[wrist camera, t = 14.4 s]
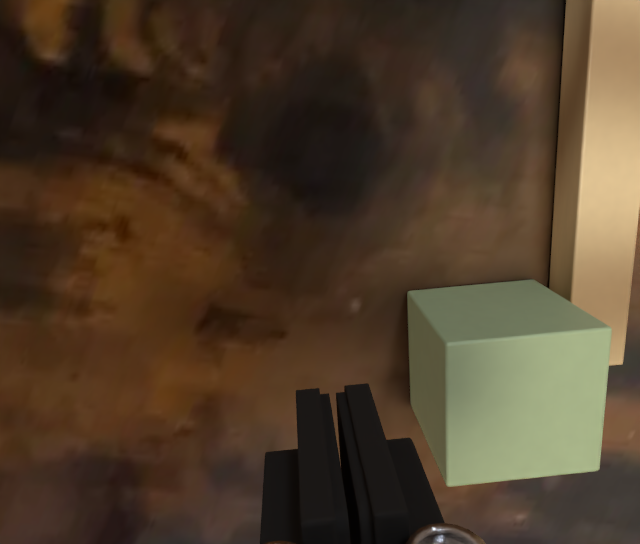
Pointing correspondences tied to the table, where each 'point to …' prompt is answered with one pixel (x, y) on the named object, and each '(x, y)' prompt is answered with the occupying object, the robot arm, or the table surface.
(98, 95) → the table surface
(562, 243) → the rail
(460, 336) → the block
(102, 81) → the table surface
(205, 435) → the table surface
